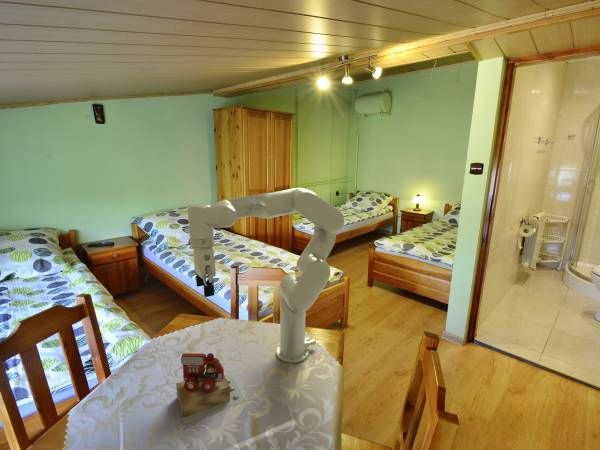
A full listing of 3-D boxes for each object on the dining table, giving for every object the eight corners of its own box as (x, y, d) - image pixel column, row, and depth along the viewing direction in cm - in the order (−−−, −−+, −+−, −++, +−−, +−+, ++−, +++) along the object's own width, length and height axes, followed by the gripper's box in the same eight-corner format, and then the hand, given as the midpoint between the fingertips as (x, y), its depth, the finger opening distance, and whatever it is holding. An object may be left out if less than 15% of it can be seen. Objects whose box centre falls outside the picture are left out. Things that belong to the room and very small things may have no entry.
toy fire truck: (220, 393, 95) (219, 361, 93) (179, 392, 95) (176, 361, 93) (226, 377, 102) (225, 347, 100) (187, 376, 102) (184, 347, 100)
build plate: (231, 377, 111) (231, 372, 111) (245, 404, 99) (245, 399, 99) (176, 395, 102) (175, 391, 102) (184, 427, 90) (184, 422, 90)
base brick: (221, 382, 107) (221, 369, 106) (230, 400, 99) (229, 386, 98) (177, 397, 100) (176, 383, 99) (182, 417, 92) (181, 402, 91)
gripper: (221, 246, 100) (224, 297, 104) (206, 234, 115) (209, 280, 118) (197, 250, 96) (200, 303, 100) (184, 237, 111) (188, 284, 115)
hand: (205, 290), depth 109 cm, fingers open, 9 cm apart
